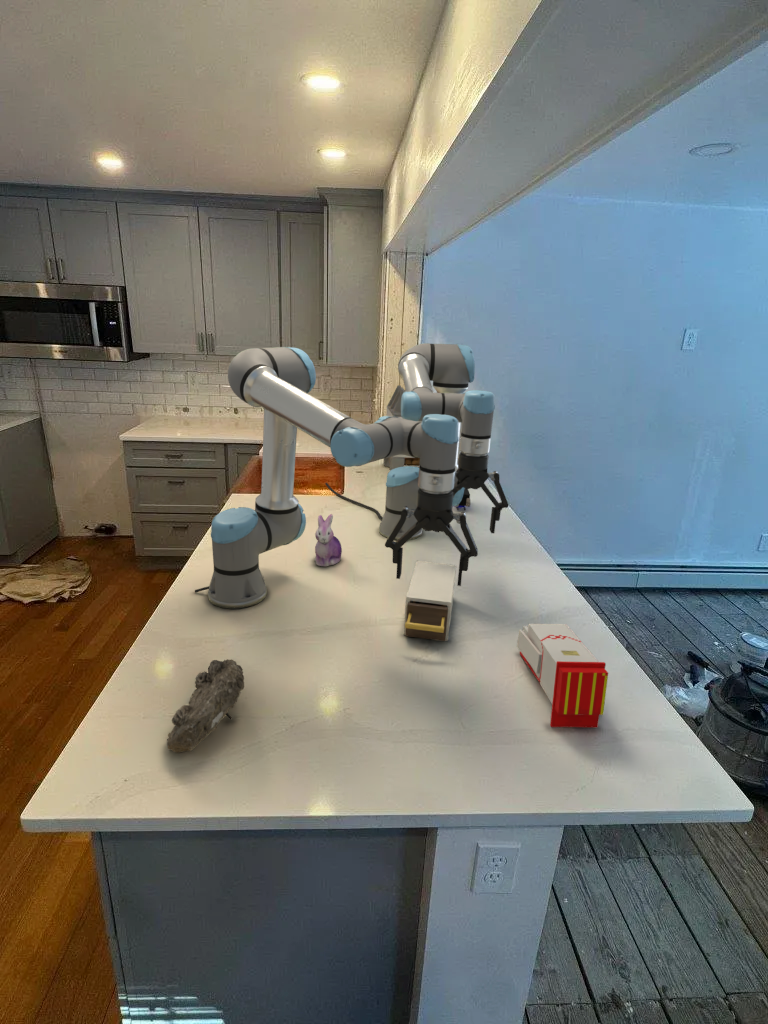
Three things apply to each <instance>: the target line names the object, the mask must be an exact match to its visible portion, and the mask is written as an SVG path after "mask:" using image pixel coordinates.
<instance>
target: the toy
mask: <svg viewBox="0 0 768 1024" xmlns="http://www.w3.org/2000/svg"><path fill="white" fill-rule="evenodd" d="M516 648H517V649H518V651H519V655H520V657H521V658H522V659H523V662H525V664H526V665H527V667H528V668H529V670H530V671H531V673H532V674H533V676H534V678H535V679H536V680H537V681H538V683H539V684H540V686H541V688H542V690H543V691H544V693H545V695H546V697H547V699H548V700H549V701H550V703H551V713H550V715H551V716H550V723H549V726H550V727H551V728H598V727H599V720H600V716H603V715H604V711H605V703H606V695H607V687H608V680H609V679H608V678H609V672H608V671H607V670H606V662H604V661H599V660H598V659H597V657H595V655H594V654H593V653H592V652H591V651H590V650H589V649H588V648H587V646H586V645H585V644H584V643H583V642H582V641H581V639H580V638H579V637H578V636H577V635H576V634H575V632H574V631H573V630H572V629H571V628H570V627H569V625H568V624H567V623H566V624H565V623H528V625H523V626H522V629H519V630H518V636H517V643H516Z"/></svg>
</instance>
